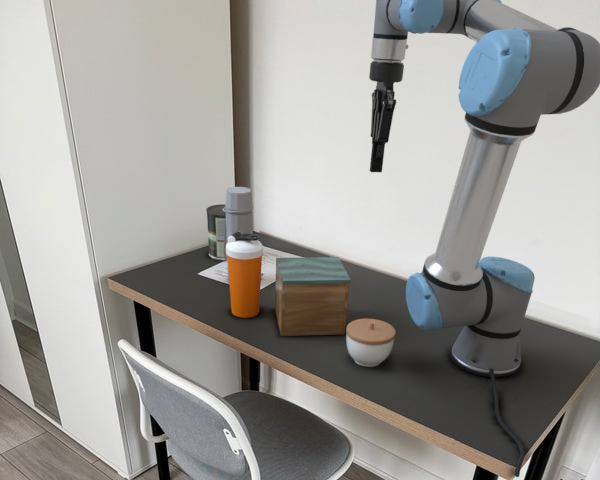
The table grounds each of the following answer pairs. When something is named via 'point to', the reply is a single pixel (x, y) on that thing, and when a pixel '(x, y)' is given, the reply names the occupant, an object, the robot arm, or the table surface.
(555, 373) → the table surface
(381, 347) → the trinket box
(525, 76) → the robot arm
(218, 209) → the coffee can
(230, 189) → the water bottle
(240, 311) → the shaker bottle
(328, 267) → the chest lid
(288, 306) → the chest
